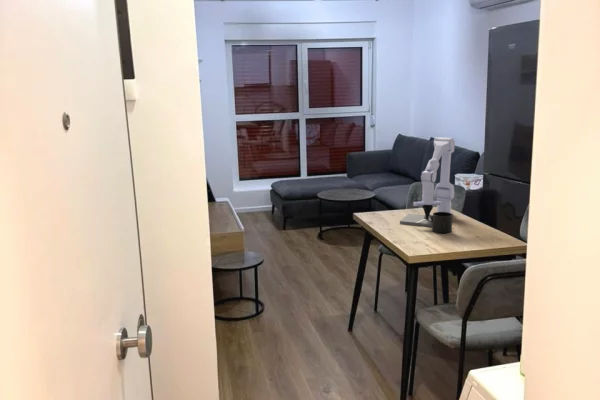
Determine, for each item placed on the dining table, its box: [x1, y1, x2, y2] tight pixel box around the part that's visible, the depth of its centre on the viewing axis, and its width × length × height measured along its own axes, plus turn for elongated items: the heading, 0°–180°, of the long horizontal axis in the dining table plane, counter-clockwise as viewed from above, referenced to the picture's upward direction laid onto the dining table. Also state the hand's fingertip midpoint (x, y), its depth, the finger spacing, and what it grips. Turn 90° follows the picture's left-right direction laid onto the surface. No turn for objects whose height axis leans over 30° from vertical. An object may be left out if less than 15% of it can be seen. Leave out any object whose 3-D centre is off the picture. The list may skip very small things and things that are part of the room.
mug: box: [431, 211, 453, 235], centre depth 270 cm, size 9×12×9 cm
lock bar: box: [424, 211, 433, 222], centre depth 286 cm, size 12×3×3 cm, turn 4°
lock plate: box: [399, 213, 433, 228], centre depth 290 cm, size 18×22×2 cm
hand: (427, 218), depth 285 cm, fingers closed
